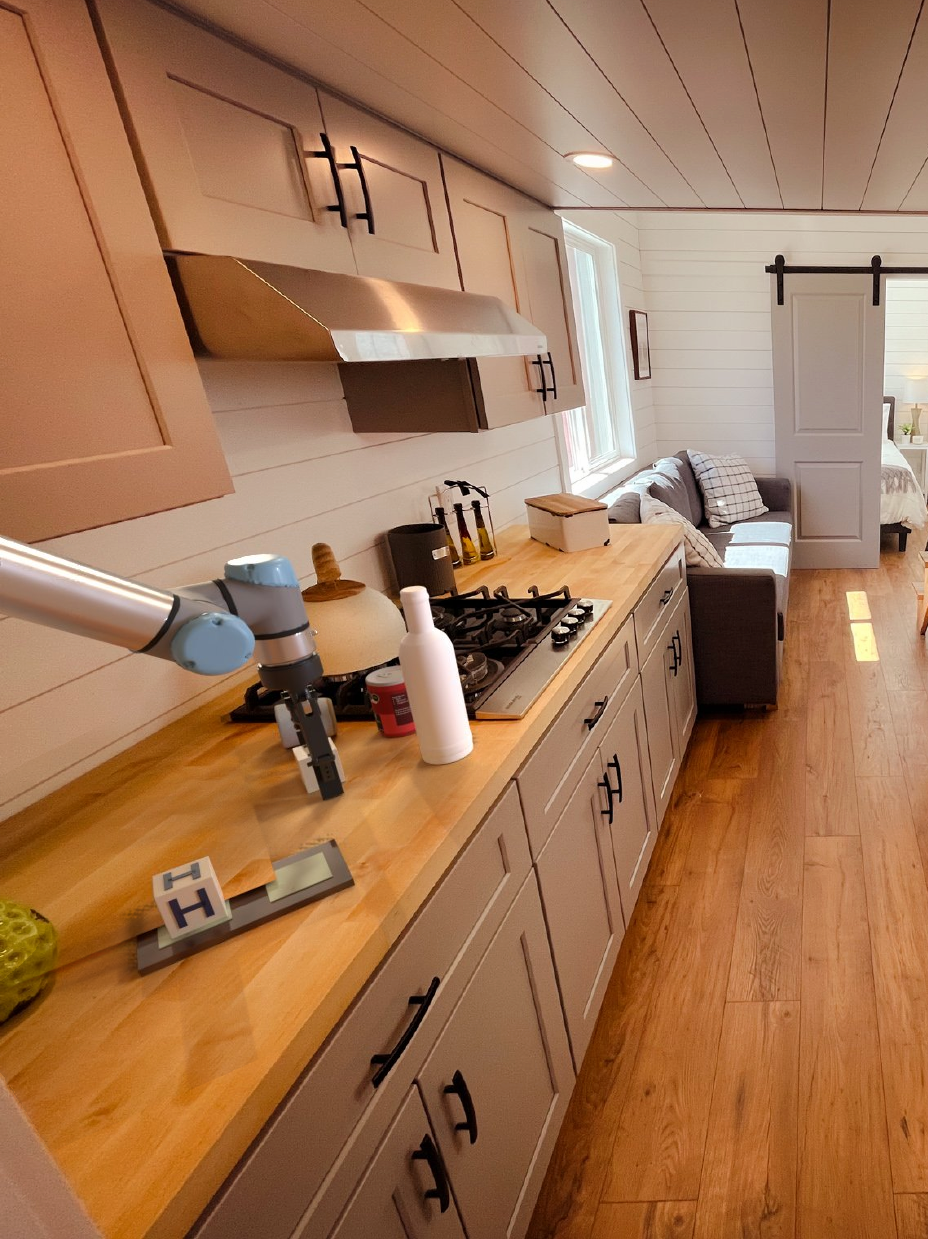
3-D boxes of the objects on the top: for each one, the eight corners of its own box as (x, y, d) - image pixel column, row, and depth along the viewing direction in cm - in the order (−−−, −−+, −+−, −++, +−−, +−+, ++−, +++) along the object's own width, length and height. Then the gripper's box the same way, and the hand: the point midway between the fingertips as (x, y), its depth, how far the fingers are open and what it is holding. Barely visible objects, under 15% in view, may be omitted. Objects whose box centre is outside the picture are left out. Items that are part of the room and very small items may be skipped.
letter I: (308, 794, 105) (297, 760, 103) (302, 780, 109) (291, 748, 107) (346, 781, 109) (336, 748, 107) (339, 768, 112) (329, 736, 110)
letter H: (171, 940, 78) (153, 898, 75) (168, 915, 81) (151, 875, 79) (228, 916, 81) (212, 876, 79) (223, 894, 84) (207, 854, 82)
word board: (141, 977, 74) (137, 970, 74) (137, 922, 81) (134, 915, 81) (355, 884, 87) (353, 878, 87) (336, 844, 95) (334, 837, 94)
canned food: (389, 719, 128) (376, 666, 124) (435, 715, 129) (423, 663, 125) (370, 740, 121) (356, 684, 117) (419, 736, 122) (406, 681, 118)
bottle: (425, 770, 112) (385, 600, 101) (419, 750, 118) (380, 587, 107) (478, 755, 116) (445, 590, 106) (469, 736, 122) (437, 578, 112)
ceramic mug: (342, 739, 120) (332, 701, 118) (285, 755, 115) (272, 716, 113) (335, 718, 128) (325, 681, 125) (281, 732, 123) (269, 694, 120)
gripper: (334, 674, 96) (371, 801, 103) (302, 628, 112) (336, 742, 119) (268, 691, 91) (311, 823, 98) (244, 641, 107) (283, 758, 114)
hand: (325, 779), depth 109 cm, fingers open, 12 cm apart
